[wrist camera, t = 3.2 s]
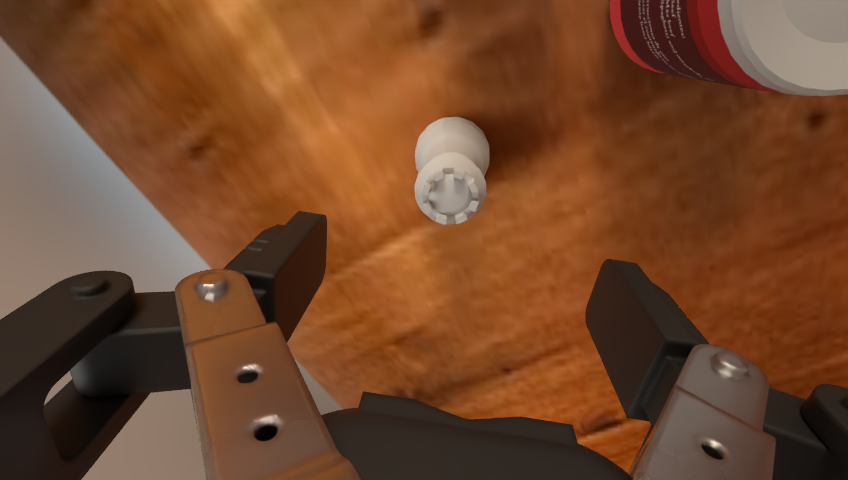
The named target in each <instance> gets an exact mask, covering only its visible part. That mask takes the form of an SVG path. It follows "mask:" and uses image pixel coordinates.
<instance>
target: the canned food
mask: <svg viewBox="0 0 848 480" xmlns="http://www.w3.org/2000/svg"><path fill="white" fill-rule="evenodd" d="M609 7H610V20H611V24H612V28H613V32H614V35H615V37H616V39H617V41H618V43H619V45H620V47H621V49H622V50H623V51H624V52H625V53H626V55H627V56H628V57H629V58H630V59H631V60H632V61H634V62H635V63H637V64H638V65H640V66H641V67H643V68H646V69H648V70H651V71H654V72H658V73H664V74H669V75H675V76H681V77H687V78H692V79H698V80H704V81H710V82H716V83H721V84H727V85H733V86H739V87H744V88H750V89H756V90H762V91H771V92H779V93H785V94H794V95H802V96H816V95H817V96H831V95H842V94H848V0H610V2H609Z"/></svg>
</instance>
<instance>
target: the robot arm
mask: <svg viewBox="0 0 848 480" xmlns="http://www.w3.org/2000/svg"><path fill="white" fill-rule="evenodd" d="M326 243H327V218H326V216H325V215H322V214H315V213H309V212H302V211H298V212H297V213H296V214H295V215H294V216H293V217H292V218H291V219H290V220H289V221H288V223H287V224H286V225H276V226H273V227H271V228H269V229H266V230H264V231H262V232H261V233H260V234H259V235H258V236H257V237H256V238H255V239H254V241H253V242H251V243H250V244H249V245H248V246H247V247H246V249H243V250H242V251H241V252H240V253H239V254H238V255H237V256H236V257H235V258H234V259H233V260H232V261H231V262H230V263H229V264H228V265H227V266H226V267H224V268H223V269H211V270H205V271H200V272H197V273H194V274H192V275H189V276H188V277H186V278H184V279H182V280H181V281H180V282H179V283H178V284H177V286H176V288H175V291H172V292H149V293H135V291H134V286H133V281H132V279H131V277H129V276H128V275H126V274H124V273H121V272H116V271H94V272H88V273H83V274H79V275H75V276H72V277H69V278H67V279H64V280H63V281H60V282H58V283H56V284H55V285H53V286H51V287H50V288H48V289H47V290H45V291H44V292H42V293H41V294H39V295H38V296H36V297H35V298H33V299H31V300H30V301H28V302H27V303H25V304H24V305H22V306H21V307H19V308H18V309H16V310H15V311H13V312H11V313H10V314H8V315H7V316H5V317H4V318H2V319H1V320H0V480H81V479H82V478H83V477H84V475H85V474H86V473H87V472H88V471H89V469H90V468H91V467H92V466H93V464H94V463H95V462H96V461H97V459H98V458H99V457H100V456H101V454H102V453H103V452H104V451H105V449H106V448H107V447H108V445H109V444H110V443H111V442H112V440H113V439H114V438H115V437H116V435H117V434H118V433H119V432H120V430H121V429H122V428H123V426H124V425H125V424H126V423H127V422H128V420H129V419H130V418H131V417H132V415H133V414H134V413H135V412H136V410H137V409H138V408H139V407H140V405H141V404H142V403H143V401H144V400H145V399H146V398H147V397H148V395H149V394H150V393H151V392H161V391H172V390H182V389H191V395H192V400H193V406H194V411H195V418H196V423H197V429H198V435H199V440H200V446H201V451H202V457H203V463H204V468H205V475H206V480H848V389H846V388H843V387H840V386H836V385H830V384H821V385H818V386H816V388H815V389H814V390H813V392H812V393H811V394H810V396H809V397H808V398H807V400H804V399H801V398H798V397H795V396H793V395H790V394H787V393H784V392H781V391H778V390H775V389H772V388H769V382H768V379H767V378H766V376H765V375H764V373H763V372H762V371H761V370H760V369H759V368H758V367H757V366H755V365H754V364H753V363H752V362H750V361H749V360H747V359H746V358H744V357H742V356H740V355H738V354H736V353H734V352H732V351H730V350H728V349H725V348H722V347H719V346H715V345H710V344H709V343H708V342H707V340H706V339H705V338H704V337H703V335H702V334H701V333H700V332H699V331H698V329H697V328H696V327H695V326H694V324H693V323H692V322H691V321H690V320H689V318H686V315H685V314H684V312H683V311H682V310H681V309H680V308H678V305H677V304H676V303H675V301H674V300H673V299H672V298H671V296H670V295H669V294H668V293H666V292H665V291H664V290H662V289H661V288H659V287H658V286H657V285H655V284H654V283H652V282H651V281H650V280H649V278H648V277H647V276H646V275H645V273H644V272H643V271H642V270H641V268H640V267H639V266H638V265H637V264H636V263H632V262H626V261H619V260H612V259H607V260H605V261H604V263H603V264H602V266H601V269H600V271H599V274H598V277H597V280H596V282H595V285H594V288H593V290H592V293H591V296H590V298H589V301H588V304H587V308H586V325H587V328H588V330H589V332H590V334H591V337H592V339H593V341H594V343H595V346H596V348H597V350H598V352H599V355H600V357H601V359H602V362H603V364H604V366H605V368H606V371H607V373H608V375H609V377H610V380H611V382H612V384H613V386H614V389H615V391H616V393H617V396H618V398H619V400H620V402H621V405H622V407H623V409H624V411H625V414H626V416H627V418H632V419H639V420H645V421H650V423H651V427H650V429H649V431H648V432H647V434H646V436H645V438H644V440H643V442H642V444H641V447H640V449H639V451H638V453H637V455H636V457H635V459H634V461H633V463H632V465H631V467H630V469H629V471H628V473H626V472H625V471H624V470H623V469H622V468H620V467H619V466H617V465H616V464H615V463H613V462H612V461H610V460H609V459H607V458H605V457H604V456H602V455H600V454H599V453H597V452H595V451H593V450H591V449H589V448H587V447H585V446H583V445H580V444H578V443H577V439H576V436H575V432H574V429H573V425H570V424H563V423H557V422H551V421H545V420H538V419H532V418H526V417H507V418H491V419H475V420H469V419H464V418H461V417H458V416H456V415H453V414H450V413H448V412H445V411H443V410H440V409H437V408H435V407H432V406H430V405H427V404H424V403H422V402H419V401H416V400H413V399H407V398H401V397H395V396H388V395H382V394H376V393H370V392H363V394H362V397H361V401H360V404H359V408H350V409H344V410H338V411H335V412H331V413H327V414H324V415H320V413H319V410H318V408H317V406H316V404H315V402H314V400H313V398H312V396H311V393H310V391H309V389H308V387H307V385H306V383H305V381H304V379H303V376H302V374H301V372H300V370H299V368H298V366H297V364H296V362H295V360H294V357H293V355H292V353H291V351H290V349H289V347H288V345H287V342H288V340H289V338H290V337H291V335H292V333H293V331H294V330H295V328H296V326H297V325H298V323H299V321H300V319H301V318H302V316H303V314H304V312H305V311H306V309H307V307H308V306H309V304H310V302H311V300H312V299H313V297H314V295H315V293H316V292H317V290H318V288H319V287H320V285H321V283H322V280H323V277H324V273H325V268H326ZM68 371H70V373H71V376H72V380H71V381H70V382H69V383H68V384H67V385H66V386H65V387H64V388H62V390H60V391H59V392H58V393H57V394H56V395H55V396H54V397H53V398H52V399H51V400H50V401H49V402H48V403H46V405H44V402H45V399H46V397H47V395H48V393H49V391H50V390H51V388H52V387H53V386H54V385H55V384H56V382H58V381H59V380H60V379H61V378H62V377H63V376H64V375H65V374H66V373H67V372H68Z"/></svg>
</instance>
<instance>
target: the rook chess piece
mask: <svg viewBox="0 0 848 480" xmlns="http://www.w3.org/2000/svg"><path fill="white" fill-rule="evenodd" d="M489 160H490V152H489V143H488V141H487V139H486V137H485V134H484V132H483V131H482V130H481V129H480V128H479V127H478V126H476V125H475V124H474V123H473V122H472V121H469V120H466V119H463V118H460V117H447V118H441V119H439V120H437V121H435V122H433V123H432V124H430V125H428V127H427V128H426V129H425V130H424V131H423V133H422V134H421V135H420V136H419V139H418V142H417V146H416V149H415V161H416V169H417V171H418V173H419V174H418V177H417V180H416V183H415V186H414V188H415V198H416V201H417V203H418V205H419V207H420V209H421V210H422V212H423V213H425V214H426V215H427V216H428V217H430V218H431V219H432V220H434V221H435V222H438V223H441V224H444V225H446V224H459V223H462V222H464V221H466V220H468V219H471V218H472V217H473V216H474V215H475V214H476V213H477V212H478V211H479V210H480V209H481V208H482V205H483V203H484V201H485V198H486V181H485V179H484V176H485V174H486V171H487V169H488V166H489Z"/></svg>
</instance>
